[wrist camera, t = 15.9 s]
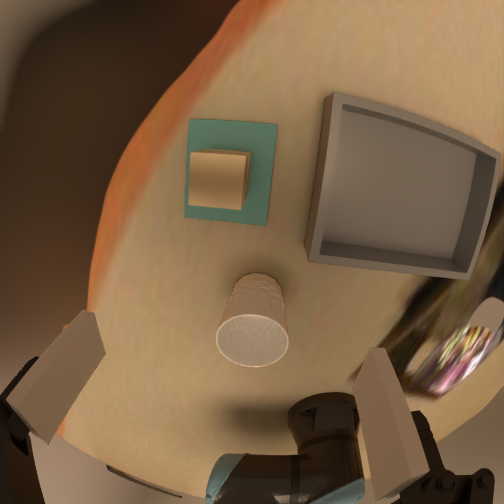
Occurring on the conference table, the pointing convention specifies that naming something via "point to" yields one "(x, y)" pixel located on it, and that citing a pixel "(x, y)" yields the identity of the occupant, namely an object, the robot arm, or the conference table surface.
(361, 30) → the conference table surface
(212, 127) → the teal mat
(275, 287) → the white cup
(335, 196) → the crate
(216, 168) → the maple block
